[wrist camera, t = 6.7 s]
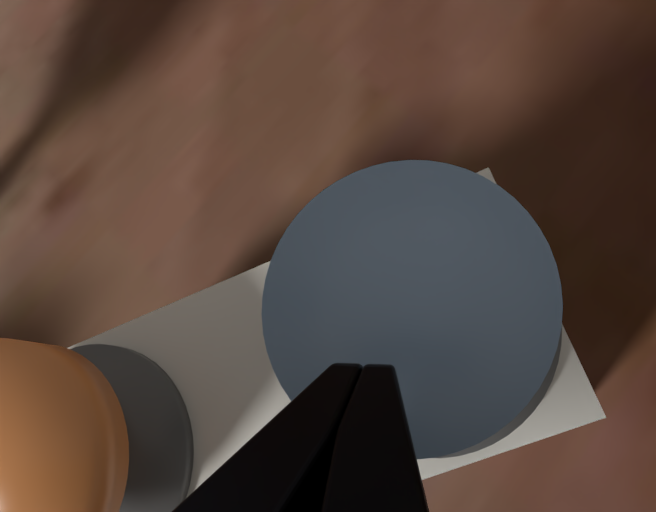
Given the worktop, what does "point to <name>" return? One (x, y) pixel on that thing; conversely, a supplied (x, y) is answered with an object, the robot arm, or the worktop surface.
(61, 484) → the orange button
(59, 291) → the worktop surface
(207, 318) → the button console
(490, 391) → the blue button
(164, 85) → the worktop surface
